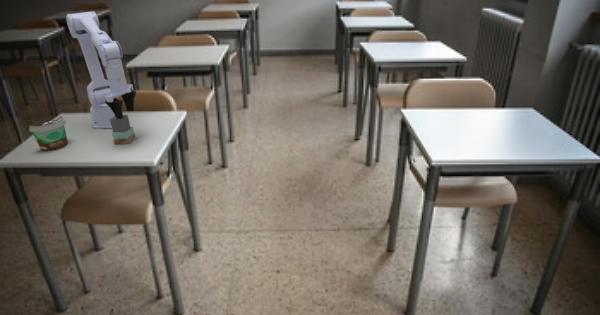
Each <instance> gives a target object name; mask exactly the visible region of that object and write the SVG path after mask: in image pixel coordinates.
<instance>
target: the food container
mask: <svg viewBox="0 0 600 315" xmlns="http://www.w3.org/2000/svg"><path fill="white" fill-rule="evenodd" d="M65 125H66V120H65V118H64V117H63V116H62V115H59V118H56V119H53V120H47V121H44V122H43V123H40V124H38V125H29V132H30V133H32V135H33V137H34V139H35V141H36V142H37V145H38V147H39V150H40V151H43V152H50V151H56V150H59V149H62V148H65V147H66V146H67V145H68V143H69V142H68V137H67V133H66V132H67V131H66V127H65Z"/></svg>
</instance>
